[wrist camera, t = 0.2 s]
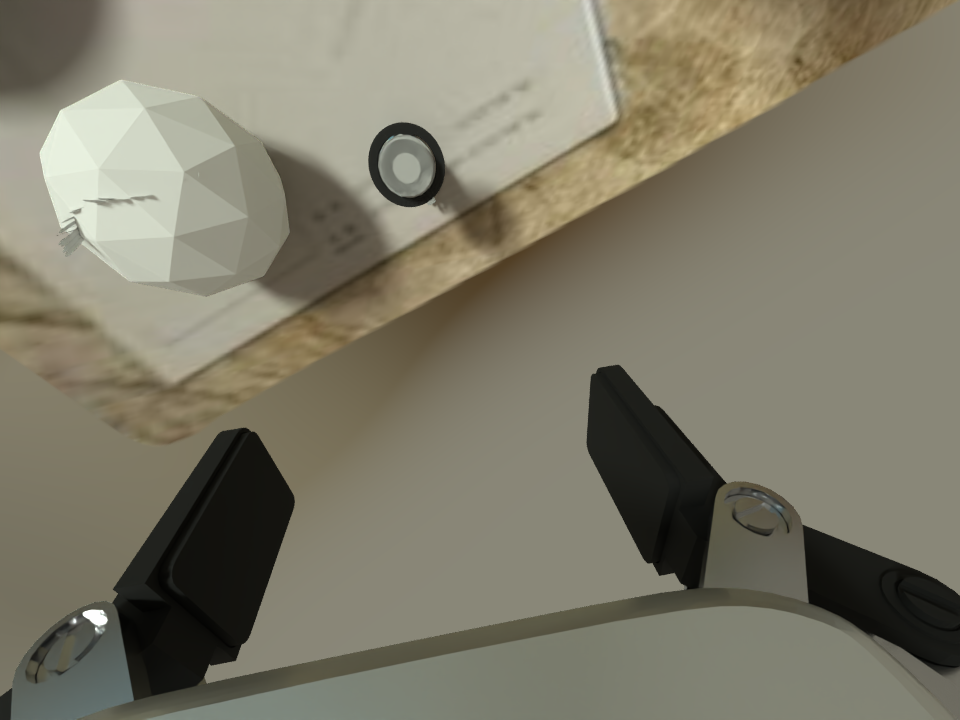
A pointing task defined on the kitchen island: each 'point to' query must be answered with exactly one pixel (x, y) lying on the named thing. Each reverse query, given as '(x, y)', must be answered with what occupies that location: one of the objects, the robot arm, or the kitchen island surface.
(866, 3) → the kitchen island surface
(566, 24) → the kitchen island surface
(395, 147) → the push button
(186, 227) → the geodesic sphere
